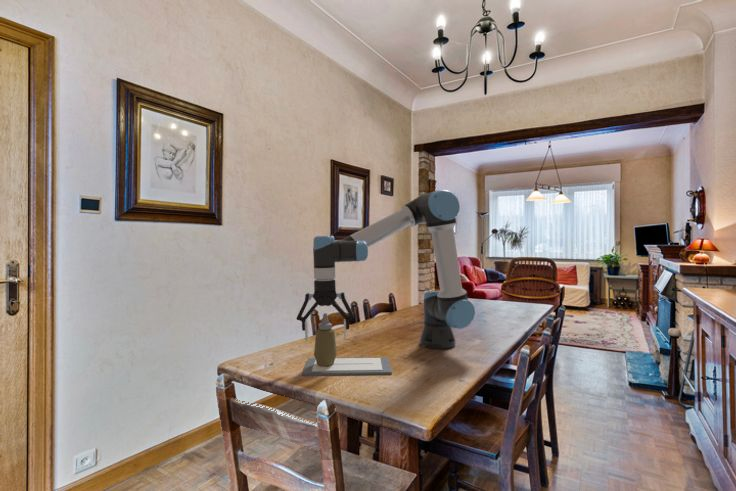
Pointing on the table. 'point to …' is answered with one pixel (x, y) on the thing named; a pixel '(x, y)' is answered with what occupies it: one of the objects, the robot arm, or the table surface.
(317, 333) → the squeeze bottle
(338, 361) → the writing board
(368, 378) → the table surface
